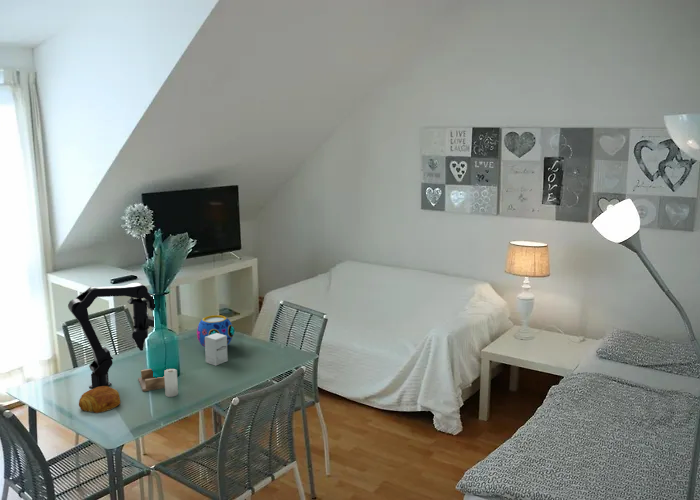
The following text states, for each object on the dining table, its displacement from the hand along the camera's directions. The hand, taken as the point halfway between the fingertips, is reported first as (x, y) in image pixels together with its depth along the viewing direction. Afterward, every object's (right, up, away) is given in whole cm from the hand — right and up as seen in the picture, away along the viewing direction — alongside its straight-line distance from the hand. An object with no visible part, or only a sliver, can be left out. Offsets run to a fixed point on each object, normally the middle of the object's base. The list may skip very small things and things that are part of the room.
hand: (142, 346), depth 274 cm
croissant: (-8, -19, -26) cm, 33 cm away
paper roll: (+17, -17, -15) cm, 29 cm away
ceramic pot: (+24, -6, +37) cm, 45 cm away
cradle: (+7, -15, -5) cm, 17 cm away
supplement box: (+28, -10, +19) cm, 36 cm away
